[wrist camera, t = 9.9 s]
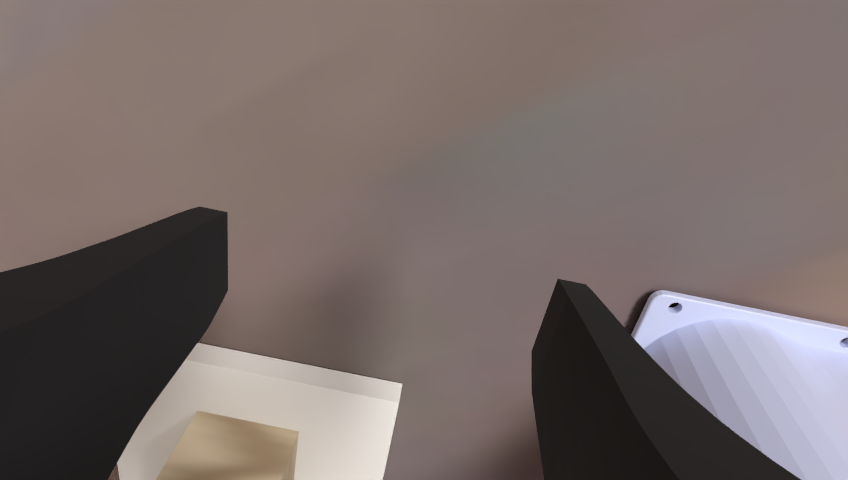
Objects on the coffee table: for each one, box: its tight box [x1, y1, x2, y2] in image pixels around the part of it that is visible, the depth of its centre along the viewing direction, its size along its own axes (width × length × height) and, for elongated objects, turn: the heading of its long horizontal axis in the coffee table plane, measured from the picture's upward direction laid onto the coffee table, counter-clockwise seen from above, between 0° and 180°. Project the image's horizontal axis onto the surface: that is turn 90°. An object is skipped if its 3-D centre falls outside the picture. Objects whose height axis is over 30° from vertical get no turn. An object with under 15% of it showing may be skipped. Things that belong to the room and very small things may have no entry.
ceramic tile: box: [117, 343, 402, 480], centre depth 28 cm, size 14×12×1 cm
